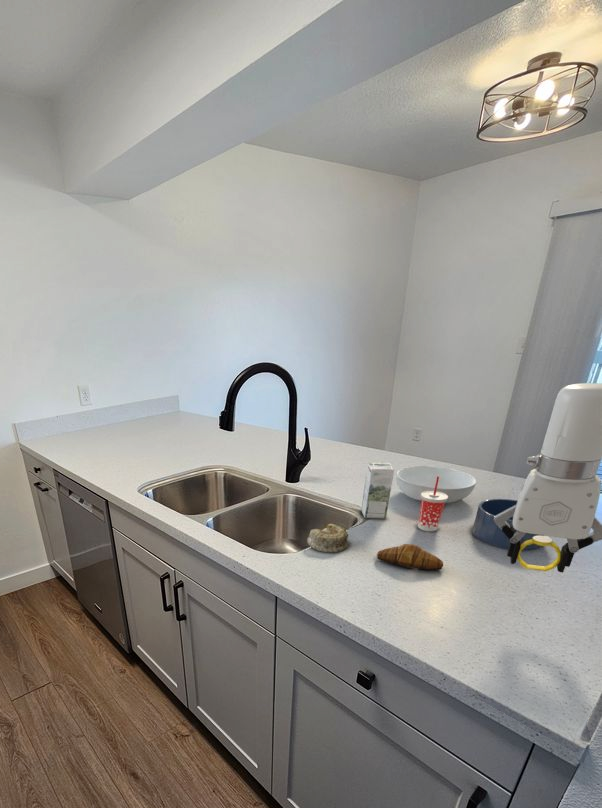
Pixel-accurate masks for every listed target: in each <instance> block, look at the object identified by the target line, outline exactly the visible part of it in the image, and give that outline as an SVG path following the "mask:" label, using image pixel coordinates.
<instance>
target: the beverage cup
mask: <svg viewBox="0 0 602 808" xmlns="http://www.w3.org/2000/svg"><path fill="white" fill-rule="evenodd" d="M438 480H439V476H437V480H436V485H435V489H434V491H425V492H422V493H421V497H420V498H421V501H420V505H419V506H420V507H419V515H418V522H417V527H418V529H419V530H422V531H425V532H436V531H437V530H438V528H439V526H440V521H441V519H442V514H443V511H444V509H445V505H446V503H445V502H446V501H447V499H448V496H447V495H446V494H444V493H441V492H436V490H437V485H438Z"/></svg>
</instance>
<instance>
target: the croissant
mask: <svg viewBox="0 0 602 808" xmlns="http://www.w3.org/2000/svg"><path fill="white" fill-rule="evenodd" d="M376 558H377V560H379V561H381V562H383V563H386V564H390V565H396V566H400V567H403V568H406V569H415V570H425V571H438V570H442V569H443V567H444V561H443V560H442V559H440V557H437V556H436V555H434V554H432V553H431V552H429V551H426V550H424V549H423V548H422V547H421V546H419V545H416V544H413V543H407V544H406V543H404V544H402V545H398V546H392V547H387V548H383V549H381V550H379V551H378V552H377V553H376Z"/></svg>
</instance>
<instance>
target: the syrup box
mask: <svg viewBox="0 0 602 808" xmlns="http://www.w3.org/2000/svg"><path fill="white" fill-rule="evenodd" d="M394 475H395V469H394V467H393V466H392V464H391V463H390V462H368V463H367V466H366V474H365V482H364V489H363V496H362V503H361V509H360V510H361V512H362V515H363V518H364V519H376V520H377V519H378V520H380V519H381V520H385V519H387V515H388V509H389V503H390V496H391V492H392V486H393V480H394Z"/></svg>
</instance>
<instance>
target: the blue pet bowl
mask: <svg viewBox="0 0 602 808" xmlns="http://www.w3.org/2000/svg"><path fill="white" fill-rule="evenodd" d="M517 500H518V499H509V498H491V499H485V500H481V502H480V503H478V506H477V509H476V514H475V518H474V522H473V524H472V525H473V526H472V531H471V532H472V534H473V536H474V537H475V538H477V539H478V540H480V541H481V542H484V543H486V544H488V545H491V546H495V547H499V548H503V549H507V550H508V549H509V545H510V539H509V538H508V537H507V536H506V535H505V534H504V533H503V531H502V530H501V528H499V527H498V525H497V524H496V523H495V522H494V516H496V515H498V514H499V513H501V512H503V511H505V510H507V509H509V508H511V507H513V506H514V505H516V503H517ZM506 522H507V523H508V524H510V526H511V527H512V528H513V529H515V528H514V527H513V517H511V518H509V519H507V520H506ZM534 536H545V535H538V534H531V533H526V534H525V535H524V536H523V537H522V538H521V544H522V543H524V542H525V541H527V540H530V539H532V538H533V537H534ZM539 547H541V545H537V544H534V543H533V544H530V545H527V546H526V547H524V548H523V549H522V550H521V551H523V550H525V551H526V550H533V549H536V548H539Z"/></svg>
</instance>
